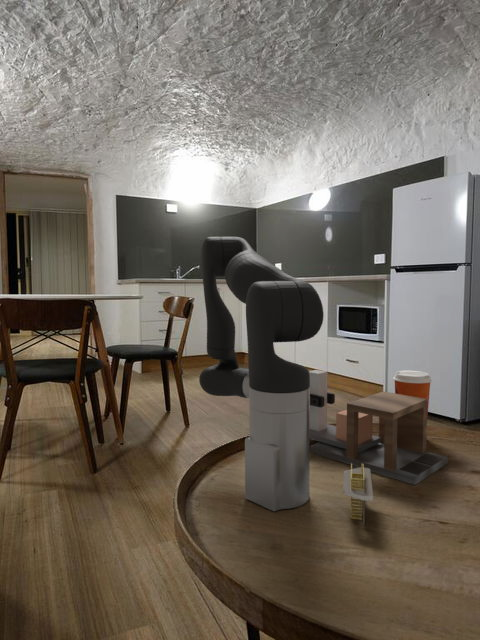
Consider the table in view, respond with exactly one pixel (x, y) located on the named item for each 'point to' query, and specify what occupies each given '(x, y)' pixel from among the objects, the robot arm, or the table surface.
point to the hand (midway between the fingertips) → (328, 400)
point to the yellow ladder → (361, 493)
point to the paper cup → (413, 384)
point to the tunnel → (389, 438)
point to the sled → (339, 432)
